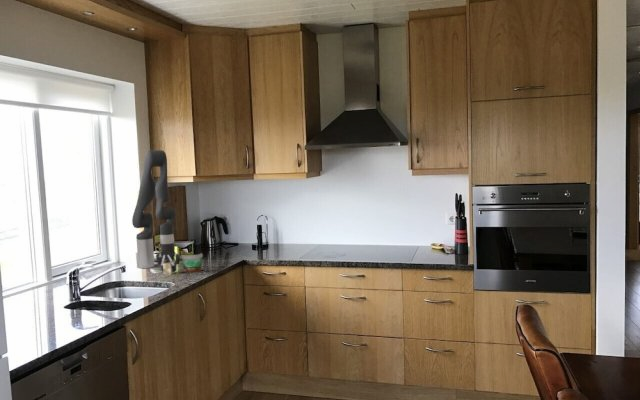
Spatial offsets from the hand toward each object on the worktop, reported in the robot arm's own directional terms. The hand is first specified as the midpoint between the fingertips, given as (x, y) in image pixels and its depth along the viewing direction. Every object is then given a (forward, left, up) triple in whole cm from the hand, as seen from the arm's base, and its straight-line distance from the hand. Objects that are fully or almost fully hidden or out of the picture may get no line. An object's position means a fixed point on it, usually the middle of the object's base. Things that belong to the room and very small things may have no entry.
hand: (169, 271), depth 296 cm
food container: (+12, +5, -1) cm, 13 cm away
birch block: (0, 0, -1) cm, 1 cm away
